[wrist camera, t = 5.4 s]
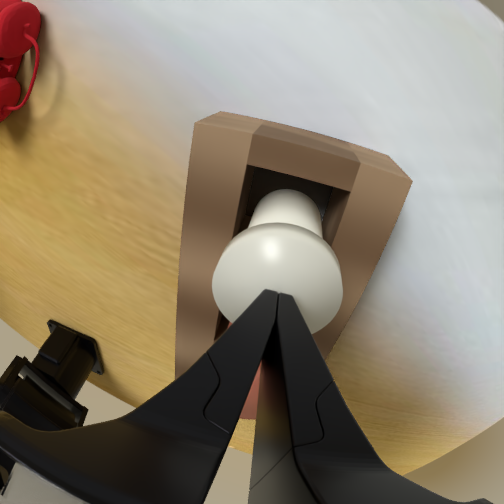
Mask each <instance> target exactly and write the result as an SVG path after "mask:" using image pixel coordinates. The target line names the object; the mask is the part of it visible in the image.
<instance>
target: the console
mask: <svg viewBox="0 0 504 504" xmlns="http://www.w3.org/2000/svg"><path fill="white" fill-rule="evenodd" d="M255 166H257V167H261V168H265V169H269V170H273V171H277V172H281V173H285V174H289V175H293V176H297V177H300V178H304V179H308V180H312V181H315V182H319V183H322V184H326V185H329V186H333V190H332V193H331V196H330V199H329V202H328V205H327V208H326V211H325V214H324V217H323V220H322V223H321V224H322V235H323V240H325V241H326V242H327V243H328V245H329V246H330V247H331V248H332V250H333V251H334V253H335V255H336V257H337V259H338V262H339V265H340V271H341V279H342V287H343V298H342V302H341V305H340V308H339V310H338V312H337V314H336V315H335V317H334V318H333V319H332V320H331V321H330V322H329V323H328V324H327V325H326V326H325V327H323V328H322V329H321V330H319V331H317V332H315V333H313V334H312V336H313V338H314V340H315V342H316V344H317V346H318V348H319V350H320V352H321V354H322V356H323V358H324V361H325V359H326V358H327V356H328V354H329V353H330V351H331V349H332V348H333V346H334V344H335V343H336V341H337V339H338V337H339V336H340V334H341V332H342V330H343V328H344V327H345V325H346V323H347V321H348V319H349V318H350V316H351V314H352V312H353V310H354V308H355V307H356V305H357V303H358V301H359V299H360V297H361V295H362V293H363V291H364V289H365V287H366V285H367V283H368V281H369V279H370V277H371V275H372V273H373V271H374V269H375V267H376V265H377V263H378V261H379V259H380V257H381V254H382V252H383V250H384V248H385V246H386V244H387V241H388V239H389V237H390V235H391V233H392V230H393V228H394V226H395V223H396V221H397V219H398V216H399V214H400V212H401V209H402V207H403V204H404V202H405V199H406V197H407V194H408V192H409V189H410V187H411V184H412V182H413V181H412V180H411V179H410V178H409V177H408V175H407V174H406V173H405V172H404V171H403V170H402V169H401V168H400V167H399V166H398V165H397V164H396V163H395V162H394V161H393V160H392V159H391V158H390V157H389V156H387V155H385V154H382V153H379V152H376V151H373V150H370V149H367V148H364V147H361V146H358V145H355V144H352V143H349V142H346V141H342V140H339V139H336V138H332V137H329V136H325V135H322V134H318V133H315V132H311V131H307V130H304V129H300V128H296V127H292V126H288V125H284V124H280V123H275V122H271V121H267V120H262V119H257V118H253V117H248V116H243V115H238V114H233V113H227V112H222V111H220V112H218V113H216V114H213V115H211V116H209V117H206V118H204V119H202V120H200V121H197V122H195V124H194V131H193V138H192V145H191V153H190V160H189V168H188V177H187V185H186V194H185V204H184V214H183V225H182V236H181V248H180V262H179V276H178V294H177V315H176V345H175V380H176V379H177V378H178V377H179V376H181V375H182V374H183V373H184V372H185V371H186V370H187V369H189V368H190V367H191V366H192V365H193V364H194V363H195V362H196V361H197V360H198V359H199V358H200V357H201V356H202V355H203V354H204V353H206V351H207V350H208V349H209V348H210V347H211V346H212V344H213V343H214V342H215V341H216V340H217V339H218V338H219V337H220V336H221V335H222V334H223V333H224V332H225V331H226V330H227V328H228V325H229V322H230V321H229V320H228V319H227V318H226V317H225V316H224V315H223V313H222V312H221V311H220V309H219V308H218V306H217V304H216V302H215V299H214V296H213V291H212V279H213V274H214V271H215V269H216V267H217V264H218V262H219V260H220V258H221V255H222V253H223V251H224V249H225V247H226V246H227V244H228V243H229V242H230V241H231V240H232V239H233V238H234V237H235V236H236V235H238V234H239V233H241V232H242V231H244V230H246V229H248V227H249V224H250V221H251V218H252V217H250V216H246V215H245V213H246V208H247V203H248V198H249V194H250V189H251V184H252V179H253V175H254V170H255Z"/></svg>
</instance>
